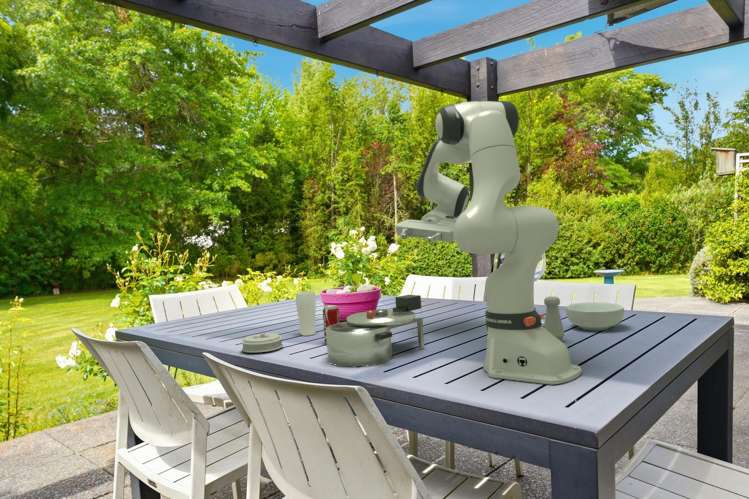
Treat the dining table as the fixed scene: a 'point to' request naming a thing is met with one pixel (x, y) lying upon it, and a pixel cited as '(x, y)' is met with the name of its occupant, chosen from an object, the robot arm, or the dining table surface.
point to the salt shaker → (553, 317)
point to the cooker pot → (363, 343)
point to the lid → (262, 342)
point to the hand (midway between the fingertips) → (416, 238)
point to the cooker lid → (388, 313)
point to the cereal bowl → (595, 315)
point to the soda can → (330, 317)
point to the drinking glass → (306, 312)
